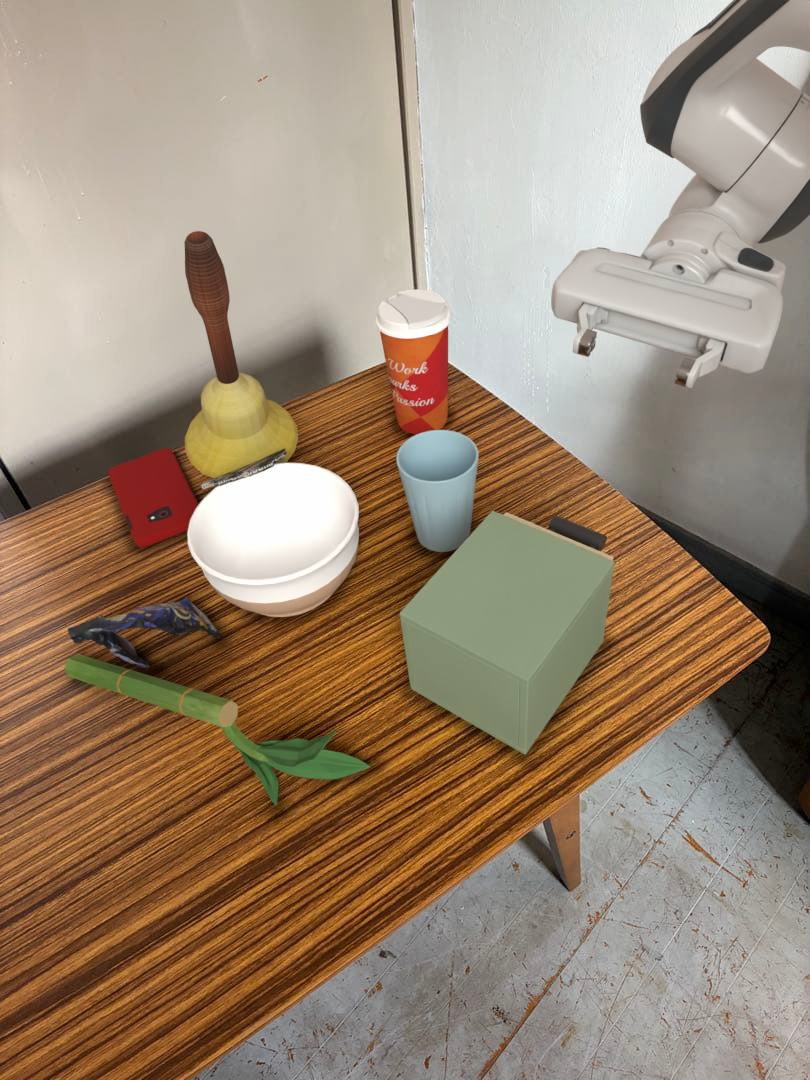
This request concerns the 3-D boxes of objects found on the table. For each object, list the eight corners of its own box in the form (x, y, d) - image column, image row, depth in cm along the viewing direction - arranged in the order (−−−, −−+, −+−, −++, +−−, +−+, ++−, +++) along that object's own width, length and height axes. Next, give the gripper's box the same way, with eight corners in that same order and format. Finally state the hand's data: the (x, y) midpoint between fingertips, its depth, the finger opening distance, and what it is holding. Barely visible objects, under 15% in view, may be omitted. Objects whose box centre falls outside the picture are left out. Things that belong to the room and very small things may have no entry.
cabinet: (493, 589, 75) (492, 510, 68) (603, 641, 70) (615, 561, 63) (410, 689, 68) (399, 613, 61) (525, 755, 63) (528, 681, 56)
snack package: (100, 616, 77) (219, 591, 78) (109, 682, 76) (230, 656, 76) (46, 599, 65) (187, 570, 66) (56, 677, 64) (199, 646, 65)
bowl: (223, 661, 72) (199, 605, 66) (198, 545, 83) (176, 488, 77) (390, 607, 75) (380, 549, 69) (344, 501, 86) (333, 444, 80)
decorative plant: (97, 623, 74) (364, 695, 58) (130, 689, 78) (387, 771, 63) (44, 666, 69) (317, 755, 54) (82, 733, 74) (345, 833, 58)
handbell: (196, 494, 82) (133, 298, 61) (174, 411, 88) (111, 208, 68) (311, 466, 84) (288, 268, 64) (282, 386, 91) (253, 183, 70)
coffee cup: (374, 421, 96) (357, 309, 85) (423, 391, 99) (413, 279, 88) (422, 450, 91) (411, 335, 80) (472, 417, 94) (467, 302, 84)
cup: (447, 572, 77) (441, 493, 70) (390, 538, 81) (379, 460, 74) (495, 529, 81) (494, 449, 74) (439, 498, 85) (432, 420, 78)
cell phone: (105, 467, 92) (108, 474, 93) (134, 544, 83) (137, 551, 83) (169, 444, 94) (172, 451, 95) (205, 516, 85) (207, 523, 85)
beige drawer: (530, 547, 78) (532, 481, 71) (627, 590, 73) (638, 522, 67) (430, 668, 69) (422, 604, 63) (533, 725, 64) (536, 662, 58)
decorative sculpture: (303, 441, 93) (225, 472, 93) (301, 437, 92) (223, 468, 93) (276, 465, 73) (179, 505, 74) (274, 460, 73) (176, 500, 74)
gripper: (586, 217, 77) (523, 304, 71) (805, 269, 69) (757, 372, 63) (581, 271, 82) (522, 357, 76) (784, 325, 75) (737, 425, 69)
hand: (630, 365), depth 70 cm, fingers open, 8 cm apart
